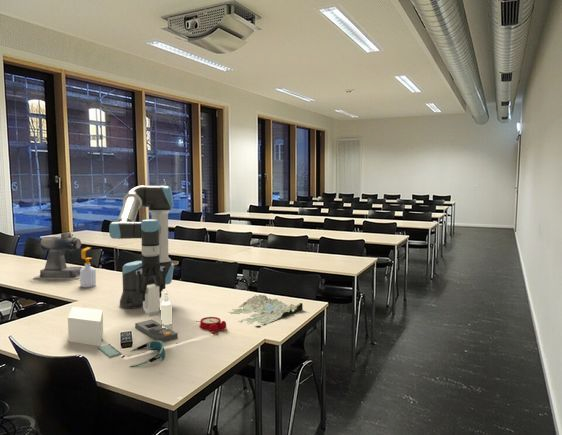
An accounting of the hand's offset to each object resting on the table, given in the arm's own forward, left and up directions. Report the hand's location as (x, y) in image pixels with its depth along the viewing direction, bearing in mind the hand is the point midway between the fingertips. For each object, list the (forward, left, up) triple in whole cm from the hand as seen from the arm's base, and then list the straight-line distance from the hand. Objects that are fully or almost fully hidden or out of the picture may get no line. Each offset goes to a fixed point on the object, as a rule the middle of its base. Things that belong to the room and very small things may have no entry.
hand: (151, 306), depth 185 cm
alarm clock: (+14, +23, -12) cm, 29 cm away
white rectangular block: (-13, -24, -12) cm, 29 cm away
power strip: (+1, 0, -12) cm, 12 cm away
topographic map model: (+9, +55, -13) cm, 57 cm away
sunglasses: (+24, -14, -12) cm, 30 cm away
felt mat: (+9, -18, -12) cm, 23 cm away
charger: (0, 0, -4) cm, 4 cm away
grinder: (-144, +2, -12) cm, 144 cm away
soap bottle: (-105, +7, -12) cm, 106 cm away
